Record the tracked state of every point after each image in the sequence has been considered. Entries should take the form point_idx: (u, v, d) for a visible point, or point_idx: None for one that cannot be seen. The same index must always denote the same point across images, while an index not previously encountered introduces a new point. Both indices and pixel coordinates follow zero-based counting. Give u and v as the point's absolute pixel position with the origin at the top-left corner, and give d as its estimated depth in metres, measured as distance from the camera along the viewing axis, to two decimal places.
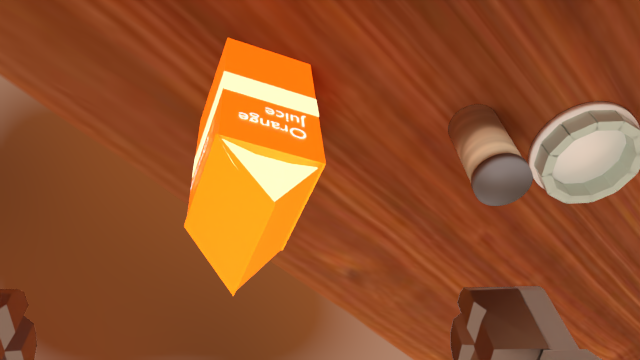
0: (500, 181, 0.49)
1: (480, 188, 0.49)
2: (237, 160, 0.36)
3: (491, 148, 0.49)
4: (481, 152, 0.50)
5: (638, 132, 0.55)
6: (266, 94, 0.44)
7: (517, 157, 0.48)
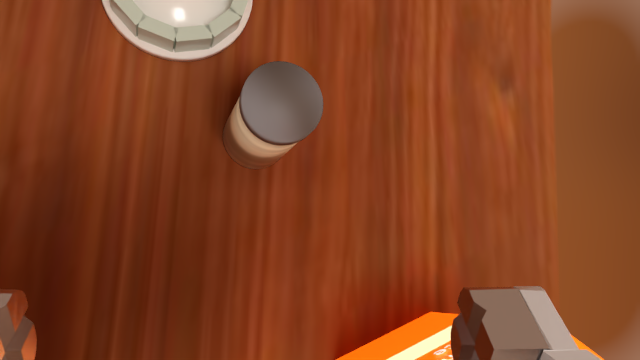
0: (283, 108, 0.35)
1: (309, 120, 0.35)
2: None
3: (259, 143, 0.36)
4: (272, 147, 0.36)
5: None
6: None
7: (243, 117, 0.34)
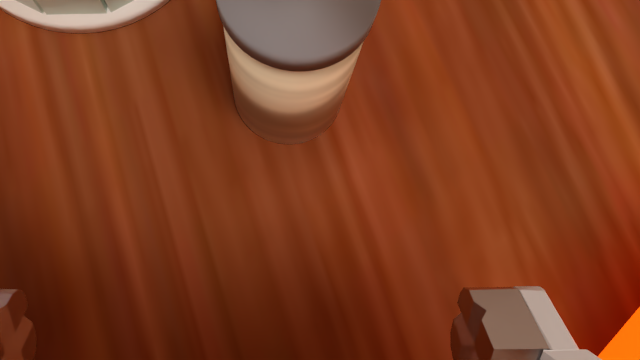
0: None
1: None
2: None
3: (289, 81, 0.18)
4: (316, 80, 0.19)
5: None
6: None
7: (237, 39, 0.17)
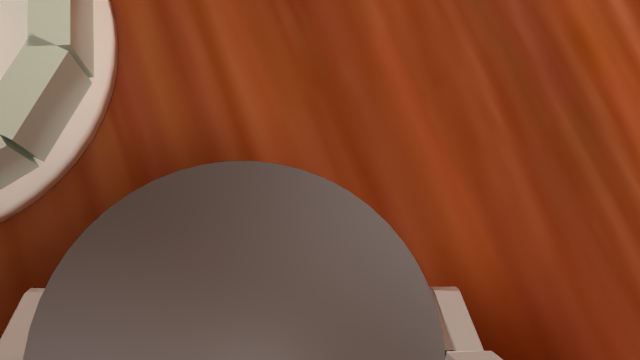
0: None
1: None
2: None
3: None
4: None
5: None
6: None
7: None
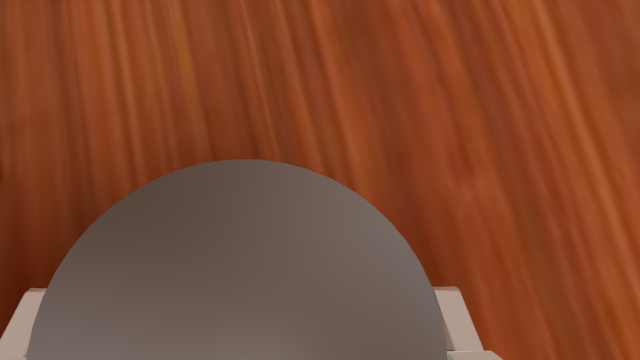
0: None
1: None
2: None
3: None
4: None
5: None
6: None
7: None
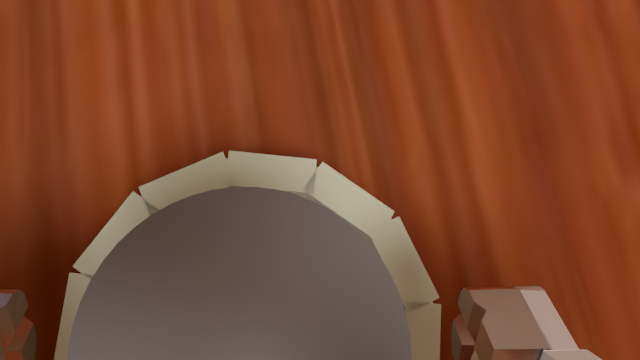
0: None
1: None
2: None
3: None
4: None
5: None
6: None
7: None
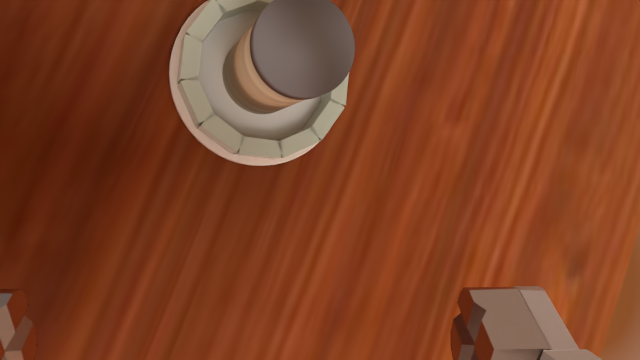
0: (305, 54, 0.27)
1: (334, 74, 0.28)
2: None
3: (267, 91, 0.29)
4: (282, 98, 0.29)
5: (188, 41, 0.32)
6: None
7: (253, 56, 0.27)
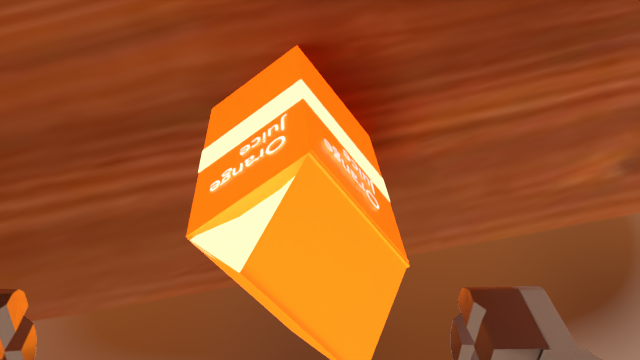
0: None
1: None
2: (205, 250, 0.26)
3: None
4: None
5: None
6: (244, 132, 0.33)
7: None
